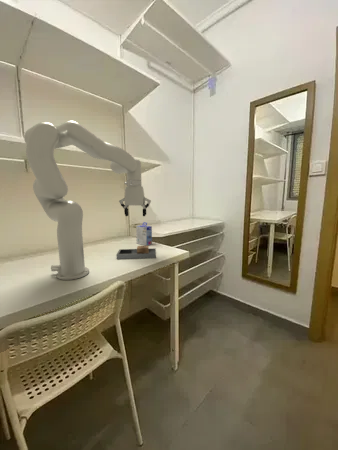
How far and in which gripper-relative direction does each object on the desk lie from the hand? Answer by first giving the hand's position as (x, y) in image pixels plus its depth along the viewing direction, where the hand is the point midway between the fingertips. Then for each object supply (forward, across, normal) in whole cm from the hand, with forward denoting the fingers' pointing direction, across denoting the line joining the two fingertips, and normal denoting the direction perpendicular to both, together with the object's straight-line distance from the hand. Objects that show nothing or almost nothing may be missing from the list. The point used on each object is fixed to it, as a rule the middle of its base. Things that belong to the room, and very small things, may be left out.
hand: (135, 216), depth 114 cm
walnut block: (+22, +4, -1) cm, 22 cm away
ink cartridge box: (+22, -2, +24) cm, 33 cm away
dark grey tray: (+22, +1, -2) cm, 22 cm away
